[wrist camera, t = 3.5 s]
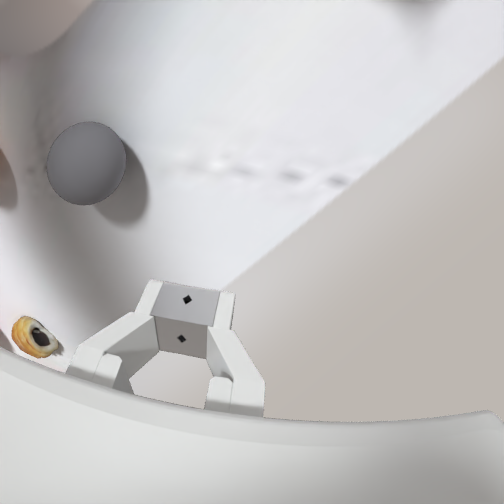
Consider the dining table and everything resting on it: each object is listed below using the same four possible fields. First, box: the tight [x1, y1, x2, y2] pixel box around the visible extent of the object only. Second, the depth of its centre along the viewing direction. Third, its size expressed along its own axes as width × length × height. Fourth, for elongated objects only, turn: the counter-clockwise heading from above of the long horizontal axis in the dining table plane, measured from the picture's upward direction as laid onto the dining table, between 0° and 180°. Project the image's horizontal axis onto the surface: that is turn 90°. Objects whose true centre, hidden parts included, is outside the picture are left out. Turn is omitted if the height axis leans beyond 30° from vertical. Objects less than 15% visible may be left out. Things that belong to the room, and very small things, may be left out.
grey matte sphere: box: [47, 122, 126, 205], centre depth 18 cm, size 6×6×6 cm
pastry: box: [12, 316, 58, 358], centre depth 36 cm, size 9×7×4 cm
